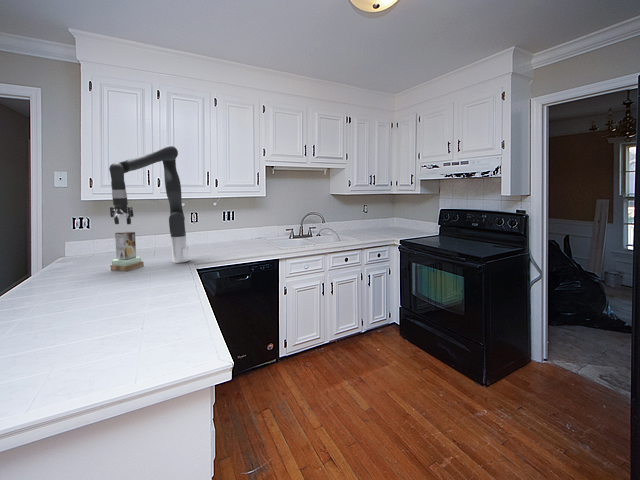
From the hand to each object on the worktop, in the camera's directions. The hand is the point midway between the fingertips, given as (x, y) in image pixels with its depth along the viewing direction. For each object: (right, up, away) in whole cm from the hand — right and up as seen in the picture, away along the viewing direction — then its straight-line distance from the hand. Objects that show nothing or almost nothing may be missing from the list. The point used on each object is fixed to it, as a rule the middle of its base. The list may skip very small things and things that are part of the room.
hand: (123, 224), depth 195 cm
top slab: (0, -24, +4) cm, 24 cm away
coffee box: (0, -21, +4) cm, 21 cm away
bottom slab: (0, -28, +5) cm, 28 cm away
